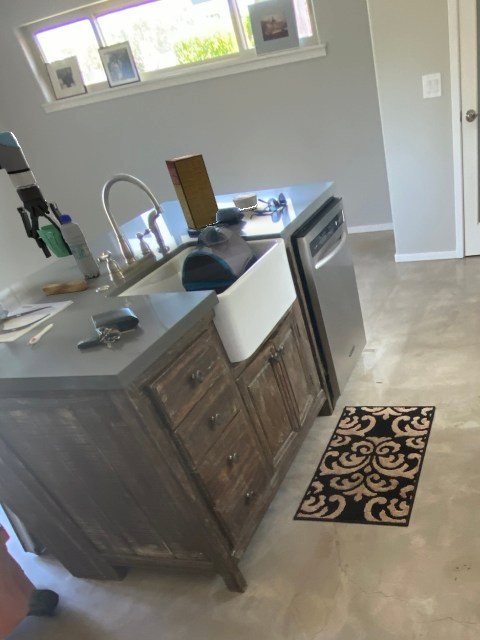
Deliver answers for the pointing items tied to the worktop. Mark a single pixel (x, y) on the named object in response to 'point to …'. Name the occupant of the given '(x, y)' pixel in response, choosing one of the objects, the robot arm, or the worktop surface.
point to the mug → (53, 240)
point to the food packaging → (193, 190)
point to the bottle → (79, 247)
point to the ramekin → (245, 201)
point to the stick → (65, 287)
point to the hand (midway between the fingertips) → (60, 255)
